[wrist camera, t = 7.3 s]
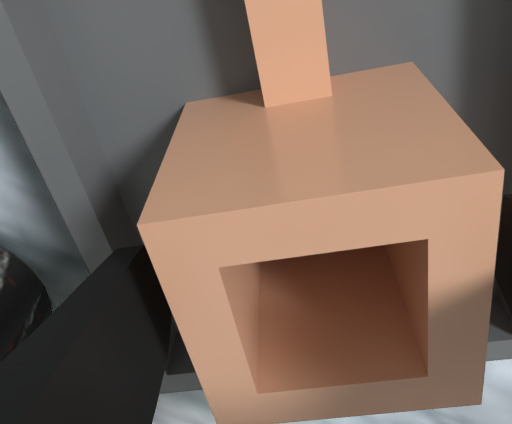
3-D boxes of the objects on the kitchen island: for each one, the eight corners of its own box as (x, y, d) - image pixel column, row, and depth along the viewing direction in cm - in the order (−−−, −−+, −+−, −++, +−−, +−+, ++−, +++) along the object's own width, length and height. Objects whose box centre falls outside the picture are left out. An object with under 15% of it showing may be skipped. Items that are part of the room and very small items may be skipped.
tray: (511, 295, 15) (547, 355, 13) (163, 335, 17) (149, 394, 15) (592, -294, 8) (698, -356, 6) (-34, -136, 10) (-116, -144, 8)
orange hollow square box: (415, 245, 13) (480, 404, 9) (233, 270, 14) (218, 429, 10) (409, -123, 9) (535, -137, 5) (139, -61, 9) (36, -25, 5)
